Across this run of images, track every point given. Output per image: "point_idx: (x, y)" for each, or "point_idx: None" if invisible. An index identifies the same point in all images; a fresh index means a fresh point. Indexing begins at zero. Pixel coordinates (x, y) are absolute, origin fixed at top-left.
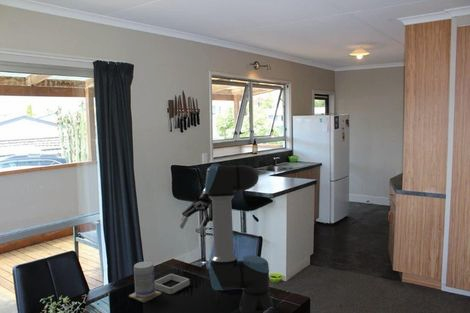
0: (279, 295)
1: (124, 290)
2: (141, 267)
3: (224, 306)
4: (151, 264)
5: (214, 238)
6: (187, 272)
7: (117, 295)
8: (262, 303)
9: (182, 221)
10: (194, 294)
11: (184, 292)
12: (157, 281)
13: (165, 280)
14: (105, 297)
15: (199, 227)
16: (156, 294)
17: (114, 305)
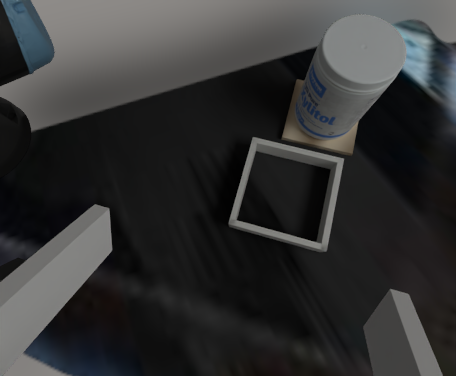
0: None
1: (407, 125)
2: (349, 21)
3: (74, 128)
4: (331, 57)
5: None
6: (294, 333)
7: (400, 93)
8: None
9: (418, 360)
10: (182, 166)
11: (218, 169)
12: (333, 178)
13: (323, 217)
14: (422, 74)
15: (87, 225)
16: (287, 121)
17: None
